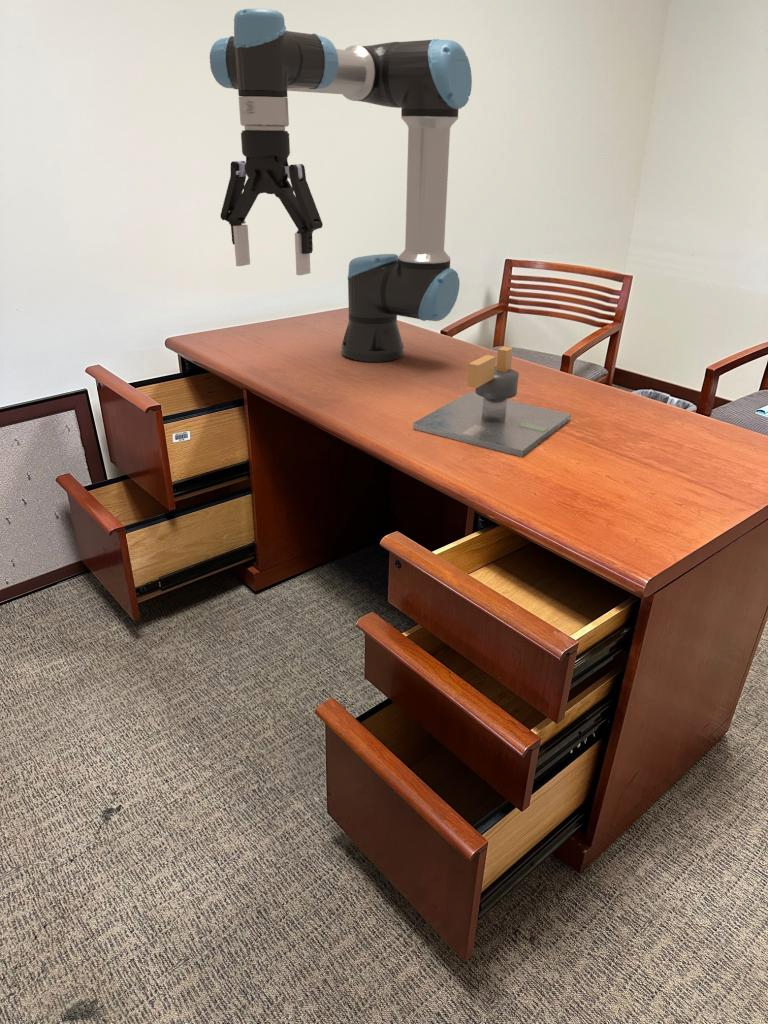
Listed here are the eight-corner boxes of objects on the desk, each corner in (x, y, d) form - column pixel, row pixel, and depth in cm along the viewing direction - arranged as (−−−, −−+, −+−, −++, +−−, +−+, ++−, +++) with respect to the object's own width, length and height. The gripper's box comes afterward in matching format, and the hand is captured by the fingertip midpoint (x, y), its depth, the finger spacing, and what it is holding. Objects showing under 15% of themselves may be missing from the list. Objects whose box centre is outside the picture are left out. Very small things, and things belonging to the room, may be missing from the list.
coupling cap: (486, 383, 141) (490, 343, 137) (523, 391, 137) (527, 350, 133) (451, 402, 131) (453, 360, 127) (489, 411, 127) (493, 368, 123)
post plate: (469, 397, 152) (471, 369, 150) (570, 419, 142) (574, 390, 139) (413, 428, 136) (414, 398, 133) (521, 457, 126) (525, 424, 123)
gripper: (191, 127, 118) (204, 264, 128) (311, 130, 106) (315, 281, 116) (224, 127, 124) (234, 258, 134) (342, 130, 112) (344, 274, 122)
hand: (272, 269), depth 125 cm, fingers open, 13 cm apart
